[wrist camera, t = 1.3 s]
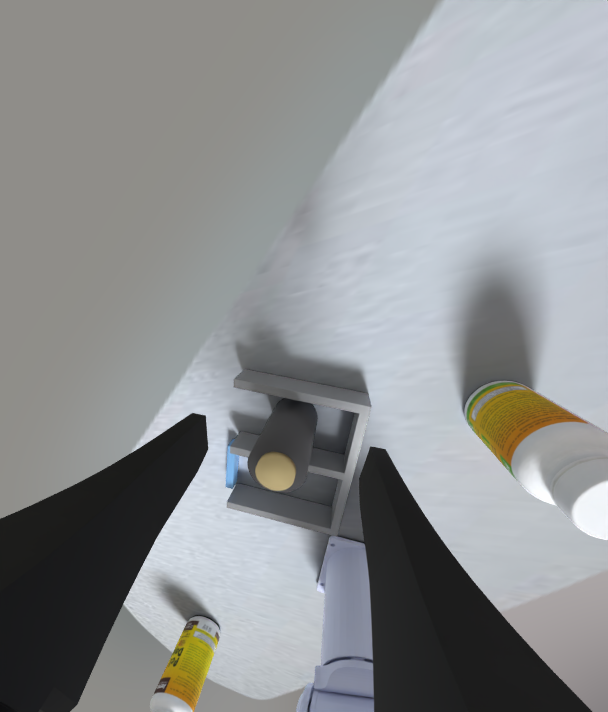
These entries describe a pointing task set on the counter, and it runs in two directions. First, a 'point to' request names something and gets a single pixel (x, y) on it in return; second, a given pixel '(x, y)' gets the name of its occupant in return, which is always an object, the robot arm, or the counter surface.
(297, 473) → the plug
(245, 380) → the grey divided frame
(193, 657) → the supplement bottle
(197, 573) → the counter surface
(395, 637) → the robot arm
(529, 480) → the supplement bottle
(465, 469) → the counter surface
